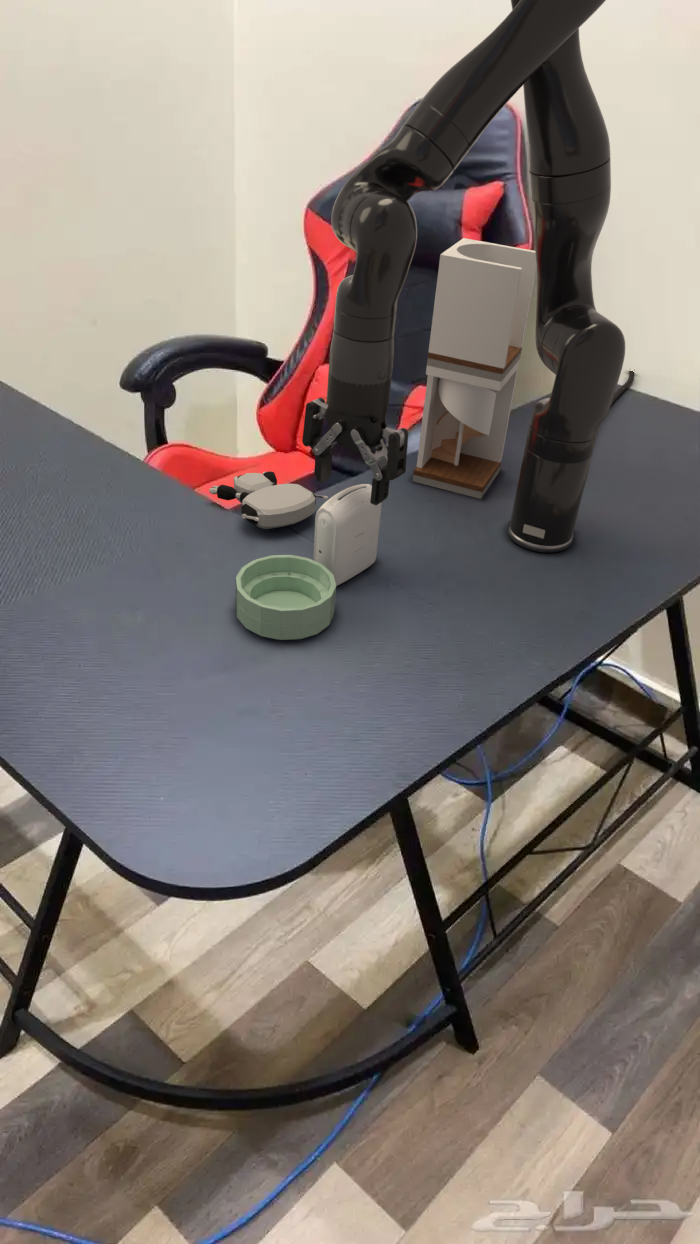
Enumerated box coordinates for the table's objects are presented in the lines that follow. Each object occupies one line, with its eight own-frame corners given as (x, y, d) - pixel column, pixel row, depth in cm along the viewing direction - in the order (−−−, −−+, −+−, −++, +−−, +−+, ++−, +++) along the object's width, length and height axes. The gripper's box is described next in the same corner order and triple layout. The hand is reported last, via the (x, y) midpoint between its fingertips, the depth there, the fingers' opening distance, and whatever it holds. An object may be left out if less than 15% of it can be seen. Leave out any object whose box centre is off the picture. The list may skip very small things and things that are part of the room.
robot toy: (204, 506, 142) (260, 545, 132) (202, 479, 139) (259, 516, 129) (272, 486, 148) (330, 522, 138) (271, 459, 146) (331, 494, 136)
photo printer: (331, 593, 124) (337, 510, 117) (307, 579, 126) (311, 497, 119) (380, 563, 131) (389, 483, 124) (356, 551, 133) (363, 472, 126)
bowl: (278, 576, 127) (279, 544, 124) (352, 611, 121) (355, 579, 118) (215, 616, 118) (215, 583, 115) (292, 656, 113) (293, 622, 110)
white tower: (412, 481, 151) (440, 254, 131) (434, 455, 159) (463, 238, 139) (480, 499, 148) (520, 269, 127) (499, 471, 156) (539, 251, 136)
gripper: (428, 378, 111) (412, 500, 121) (331, 345, 118) (323, 463, 127) (392, 396, 106) (378, 521, 116) (293, 360, 112) (288, 482, 122)
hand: (349, 491), depth 121 cm, fingers open, 8 cm apart
